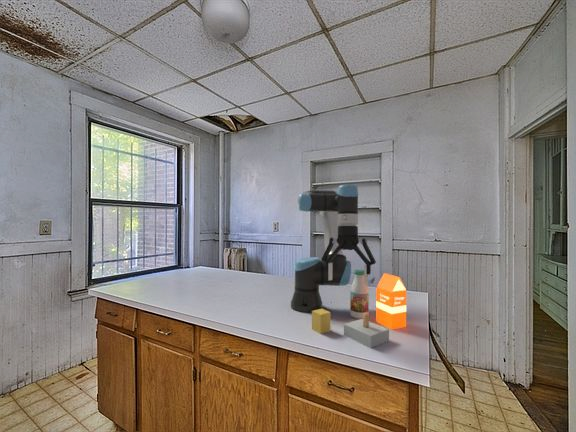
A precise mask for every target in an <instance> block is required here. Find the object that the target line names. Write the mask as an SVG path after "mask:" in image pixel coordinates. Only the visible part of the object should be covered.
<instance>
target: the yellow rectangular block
mask: <svg viewBox="0 0 576 432" xmlns="http://www.w3.org/2000/svg"><path fill="white" fill-rule="evenodd" d="M331 317H332V316H331V312H330V311H328V310H326V309H324V308H322V309H318V310H314V311H312V312H311V330H313V331H315V332H316V333H319V334H320V335H321V334H324V333H327V332H330V331H331V319H332V318H331Z"/></svg>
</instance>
